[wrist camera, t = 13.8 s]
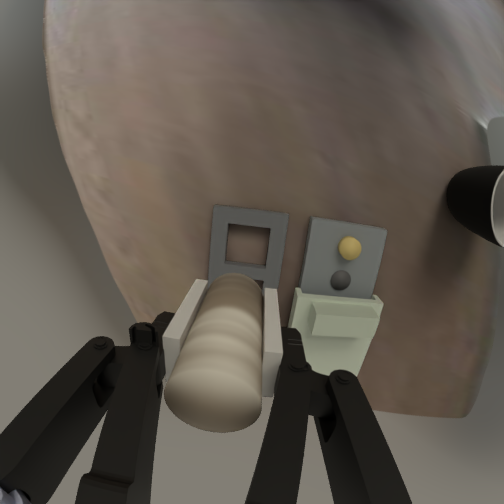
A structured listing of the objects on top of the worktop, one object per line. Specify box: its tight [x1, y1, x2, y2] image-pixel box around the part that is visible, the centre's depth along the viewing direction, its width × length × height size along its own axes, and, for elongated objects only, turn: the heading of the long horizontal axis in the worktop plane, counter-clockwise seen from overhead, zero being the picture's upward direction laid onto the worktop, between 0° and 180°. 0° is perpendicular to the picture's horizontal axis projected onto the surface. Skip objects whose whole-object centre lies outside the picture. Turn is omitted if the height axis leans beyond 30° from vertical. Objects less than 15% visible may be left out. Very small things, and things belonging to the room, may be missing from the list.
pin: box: [164, 273, 263, 433], centre depth 13 cm, size 4×4×9 cm
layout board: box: [298, 216, 388, 299], centre depth 30 cm, size 12×9×3 cm
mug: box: [447, 166, 504, 248], centre depth 23 cm, size 12×9×10 cm
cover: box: [288, 287, 384, 377], centre depth 30 cm, size 13×10×5 cm
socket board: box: [207, 205, 289, 296], centre depth 31 cm, size 14×8×1 cm, turn 173°
